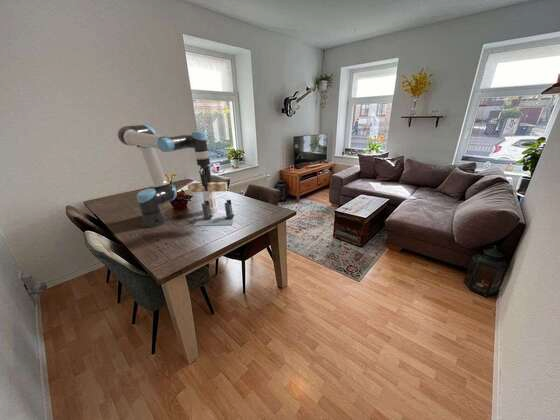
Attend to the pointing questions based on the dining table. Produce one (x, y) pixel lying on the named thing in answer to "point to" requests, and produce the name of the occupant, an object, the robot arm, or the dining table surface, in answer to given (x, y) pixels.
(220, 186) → the rail
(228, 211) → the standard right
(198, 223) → the mat
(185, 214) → the dining table surface
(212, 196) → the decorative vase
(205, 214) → the standard left
